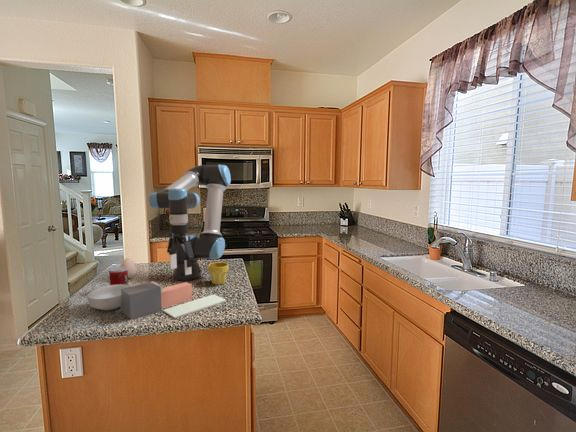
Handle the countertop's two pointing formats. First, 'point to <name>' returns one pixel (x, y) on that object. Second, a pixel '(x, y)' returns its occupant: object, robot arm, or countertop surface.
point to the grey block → (141, 299)
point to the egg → (129, 267)
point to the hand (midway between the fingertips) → (180, 271)
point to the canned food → (118, 276)
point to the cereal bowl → (106, 297)
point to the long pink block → (176, 294)
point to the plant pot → (218, 272)
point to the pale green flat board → (194, 306)
